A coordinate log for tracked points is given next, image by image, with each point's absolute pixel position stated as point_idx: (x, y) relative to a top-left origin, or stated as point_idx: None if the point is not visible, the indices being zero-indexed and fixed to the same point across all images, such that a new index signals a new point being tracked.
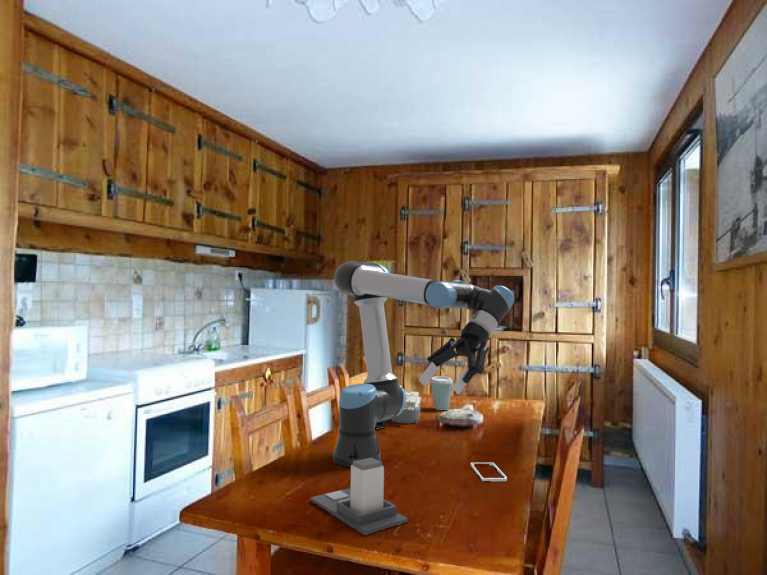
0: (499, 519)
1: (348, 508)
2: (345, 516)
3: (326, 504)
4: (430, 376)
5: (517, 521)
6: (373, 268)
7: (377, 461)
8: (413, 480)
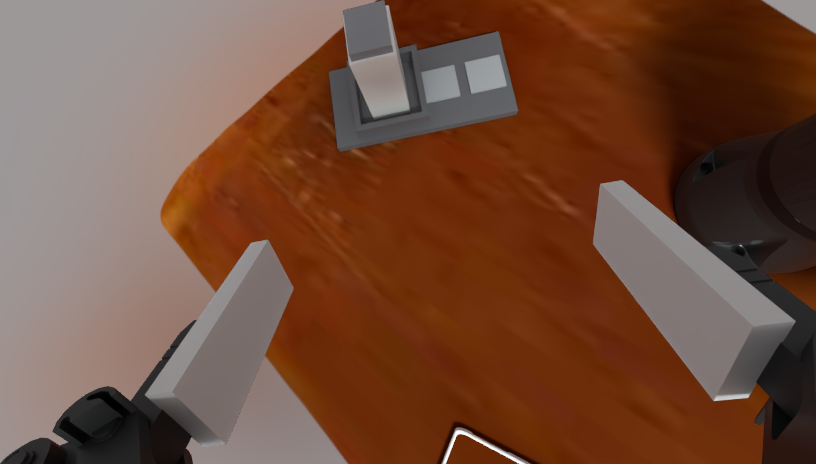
0: None
1: None
2: None
3: (453, 47)
4: (638, 286)
5: None
6: None
7: (357, 47)
8: (531, 268)
